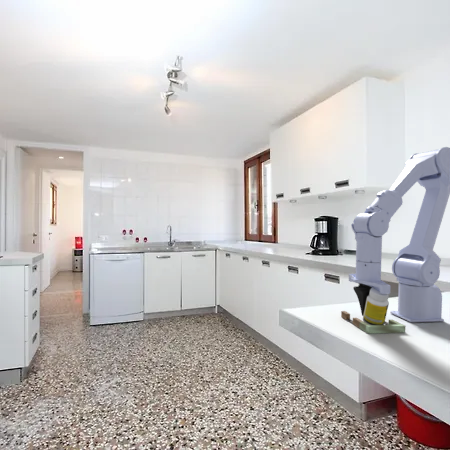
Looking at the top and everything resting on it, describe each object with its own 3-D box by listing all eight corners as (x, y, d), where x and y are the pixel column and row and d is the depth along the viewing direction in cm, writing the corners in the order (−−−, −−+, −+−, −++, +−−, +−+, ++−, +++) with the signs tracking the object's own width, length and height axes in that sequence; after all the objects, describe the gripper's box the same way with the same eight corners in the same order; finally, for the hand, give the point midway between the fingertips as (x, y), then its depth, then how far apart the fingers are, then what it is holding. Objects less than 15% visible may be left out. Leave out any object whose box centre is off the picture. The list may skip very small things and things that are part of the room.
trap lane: (373, 316, 83) (373, 310, 83) (405, 332, 71) (405, 325, 71) (341, 316, 82) (341, 311, 82) (368, 333, 70) (368, 326, 70)
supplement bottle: (386, 330, 73) (393, 298, 70) (364, 326, 74) (370, 295, 71) (381, 318, 78) (388, 288, 75) (360, 315, 79) (366, 285, 76)
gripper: (338, 257, 85) (337, 307, 85) (370, 265, 70) (368, 326, 71) (363, 257, 86) (361, 307, 86) (399, 265, 71) (397, 325, 71)
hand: (366, 315), depth 78 cm, fingers closed, pressing on supplement bottle
